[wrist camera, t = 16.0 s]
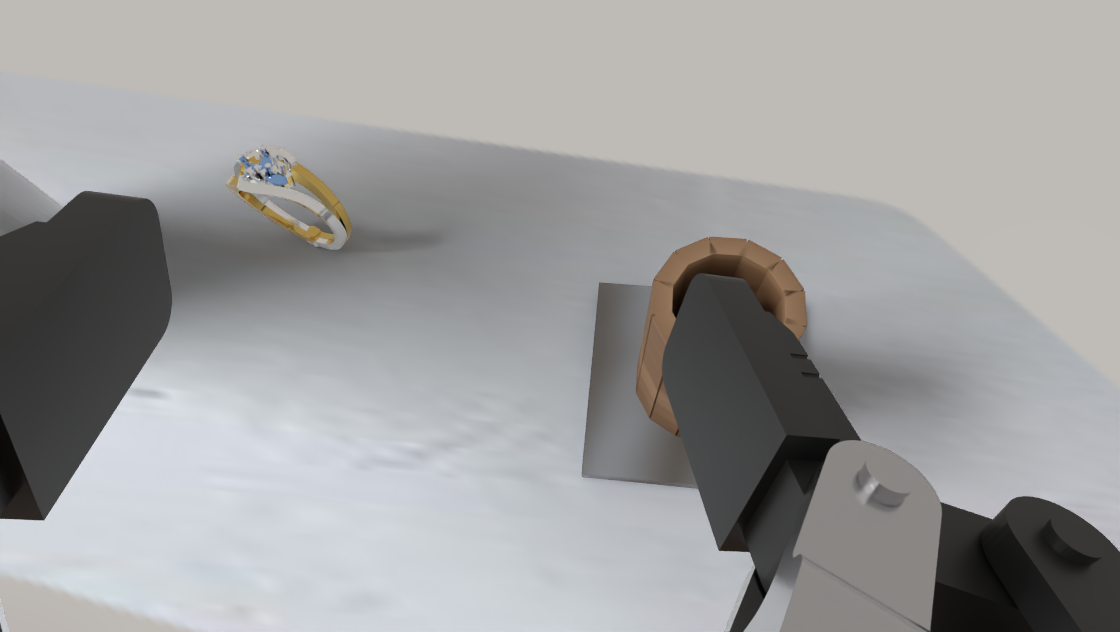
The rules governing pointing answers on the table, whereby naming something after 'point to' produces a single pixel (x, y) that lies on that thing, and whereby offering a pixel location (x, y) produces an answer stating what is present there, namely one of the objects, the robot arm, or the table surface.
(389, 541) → the table surface
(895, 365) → the table surface
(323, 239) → the ring
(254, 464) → the table surface
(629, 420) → the grey post stand
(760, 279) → the wooden slatted cup
